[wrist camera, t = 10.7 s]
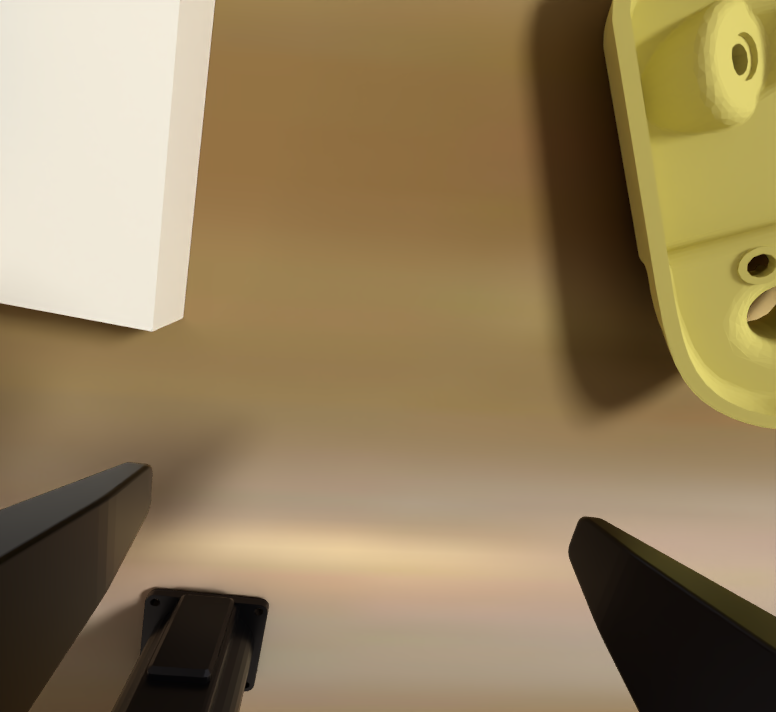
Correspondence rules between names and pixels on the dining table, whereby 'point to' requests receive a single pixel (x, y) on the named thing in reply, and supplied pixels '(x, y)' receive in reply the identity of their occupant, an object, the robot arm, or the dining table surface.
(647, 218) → the plastic component
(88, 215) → the white square base plate
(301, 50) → the dining table surface
